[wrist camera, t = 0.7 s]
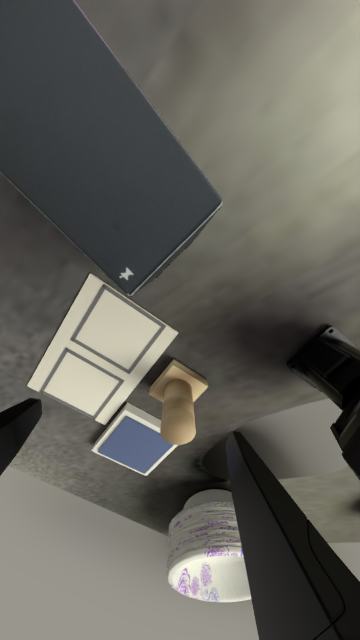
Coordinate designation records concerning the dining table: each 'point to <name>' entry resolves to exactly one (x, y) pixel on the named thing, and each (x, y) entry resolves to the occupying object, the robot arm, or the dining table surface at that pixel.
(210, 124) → the dining table surface
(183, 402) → the stamp
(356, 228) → the dining table surface
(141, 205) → the small box
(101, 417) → the print sheet
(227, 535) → the paper bowls
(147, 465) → the ink pad
